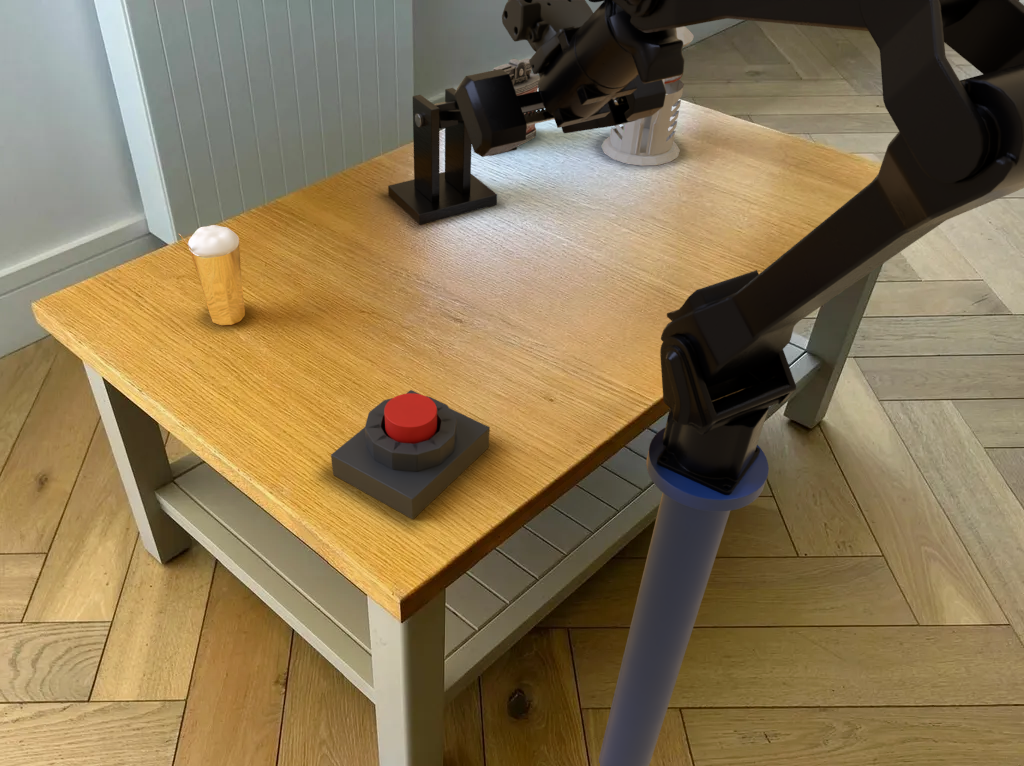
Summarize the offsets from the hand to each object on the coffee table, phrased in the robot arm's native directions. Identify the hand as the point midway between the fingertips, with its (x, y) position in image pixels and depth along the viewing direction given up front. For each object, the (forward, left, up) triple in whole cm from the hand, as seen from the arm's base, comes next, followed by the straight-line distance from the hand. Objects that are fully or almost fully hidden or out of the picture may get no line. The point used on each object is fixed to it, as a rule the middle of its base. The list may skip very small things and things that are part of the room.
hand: (522, 137), depth 84 cm
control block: (-10, +30, -13) cm, 34 cm away
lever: (+10, -4, -3) cm, 11 cm away
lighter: (+17, -25, -14) cm, 33 cm away
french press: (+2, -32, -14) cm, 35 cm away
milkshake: (+17, +25, -14) cm, 33 cm away
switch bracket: (+14, -7, -13) cm, 21 cm away
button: (-10, +30, -10) cm, 33 cm away
